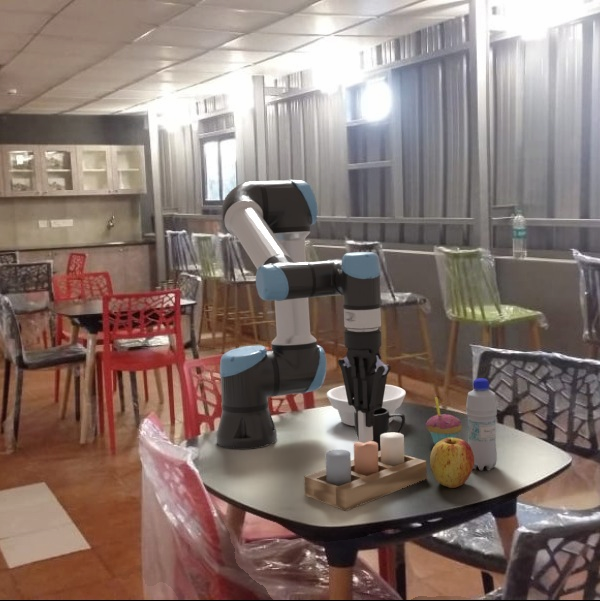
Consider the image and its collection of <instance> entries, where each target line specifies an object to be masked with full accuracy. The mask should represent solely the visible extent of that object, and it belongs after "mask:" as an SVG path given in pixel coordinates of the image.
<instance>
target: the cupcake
mask: <svg viewBox="0 0 600 601" xmlns="http://www.w3.org/2000/svg"><path fill="white" fill-rule="evenodd" d="M434 401H435V407H436V408H435V409H436V412H437V414H435V415H432V416H430V417H429V418H427V420H426V422H425V427H426V430H427V431H429V433H430V435H431V438H432V441H433V444H434V445H435V444H436V443H438V442H439V441H441V440H443V439H445V438H457V435H458V433H460V432H461V431H462V428H463V425H462V422H461V420H460V419H459V418H458V417H455V415H452V414H448V413H444V414H441V410H440V405H439V404H440V403H439V398H438V397H437V395H436V394H434Z"/></svg>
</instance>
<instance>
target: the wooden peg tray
mask: <svg viewBox="0 0 600 601" xmlns="http://www.w3.org/2000/svg"><path fill="white" fill-rule="evenodd" d="M378 467H379V472H377V473H374V474H371V475H368V476H365V475H362V474H359V473H356V472H355V470H354V459H352V460H351V482H349V483H346V484H344V485H341V486H336V485H333V484H330V483H327V481H326V468H325V469H322V470H319V471H317V472H313V473H310V474H307V475H305V476H304V475H303V476H304V479H303V480H304V496H307V497H309V498H312V499H314V500H317V501H319V502H322V503H325V504H326V505H330V506H333V507H334V508H337V509H341V510H344V511H349V510H351V509H353V508H354V509H355V508H356V507H359V506H362V505H365V504H366V503H367V504H368V503H369V502H372V501H374V500H376V499H379V498H382V497H384V496H388V495H389V494H390V495H391V494H393V493H395V492H398V491H400V490H403V489H404V488H407V486H408V487H410V486H413V485H415V484H418V483H420V482H419V481H421V482H422V480H423V481H426V480H427V474H428V473H427V460H424V459H421V458H417V457H413V456H410V455H406V454H404V463H402V464H399V465H396V466H390V465H387V464H384V463H381V451H378ZM425 479H426V480H425ZM417 482H418V483H417ZM414 483H415V484H414ZM412 484H413V485H412ZM409 485H410V486H409ZM402 488H403V489H402ZM397 490H398V491H397Z"/></svg>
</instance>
